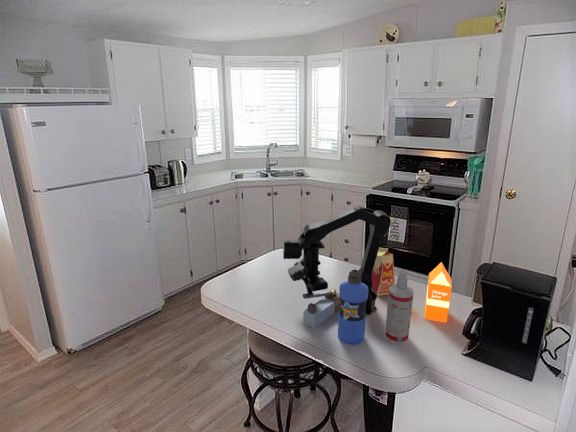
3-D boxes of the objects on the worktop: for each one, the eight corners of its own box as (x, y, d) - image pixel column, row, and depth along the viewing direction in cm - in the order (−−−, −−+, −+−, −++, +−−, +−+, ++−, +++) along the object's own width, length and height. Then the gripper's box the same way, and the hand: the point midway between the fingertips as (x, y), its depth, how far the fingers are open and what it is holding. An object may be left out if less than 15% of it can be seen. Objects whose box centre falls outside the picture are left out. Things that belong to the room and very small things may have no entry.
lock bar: (334, 292, 146) (335, 288, 145) (337, 295, 144) (337, 291, 143) (302, 296, 143) (302, 292, 142) (304, 299, 140) (304, 296, 140)
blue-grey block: (334, 313, 143) (335, 295, 141) (314, 328, 134) (314, 309, 131) (323, 308, 146) (324, 291, 144) (303, 323, 137) (303, 304, 134)
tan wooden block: (340, 308, 146) (341, 294, 144) (335, 312, 143) (335, 298, 141) (330, 304, 149) (330, 290, 147) (324, 308, 146) (324, 294, 145)
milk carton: (395, 292, 158) (400, 248, 152) (377, 296, 155) (381, 252, 149) (382, 283, 166) (386, 241, 160) (365, 286, 163) (368, 244, 157)
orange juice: (445, 310, 145) (452, 263, 139) (446, 322, 137) (454, 273, 131) (424, 306, 148) (430, 260, 142) (424, 318, 140) (430, 269, 134)
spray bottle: (402, 329, 133) (409, 265, 125) (412, 342, 126) (420, 275, 118) (381, 331, 132) (387, 266, 124) (389, 344, 125) (396, 276, 117)
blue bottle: (360, 348, 123) (365, 279, 116) (333, 340, 127) (336, 273, 119) (367, 332, 131) (372, 267, 124) (341, 326, 135) (345, 262, 127)
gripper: (281, 250, 144) (281, 286, 149) (300, 272, 127) (299, 312, 133) (308, 247, 148) (307, 282, 153) (329, 267, 131) (327, 306, 136)
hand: (309, 294), depth 144 cm, fingers closed
